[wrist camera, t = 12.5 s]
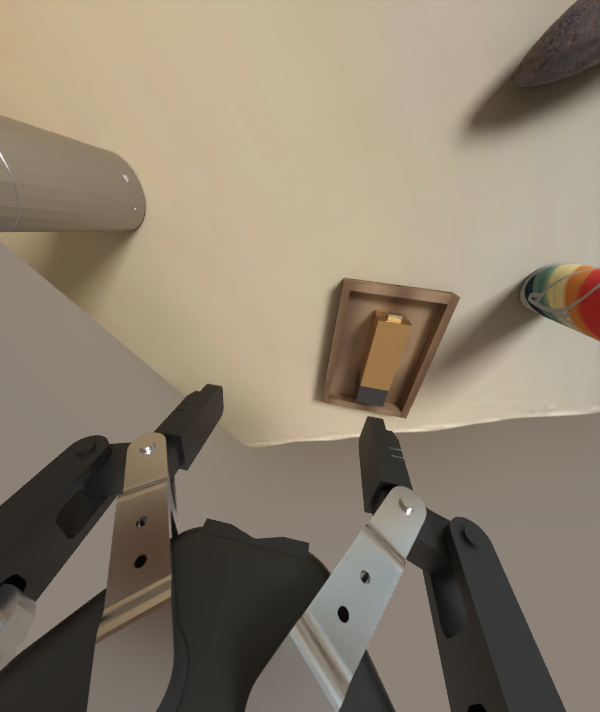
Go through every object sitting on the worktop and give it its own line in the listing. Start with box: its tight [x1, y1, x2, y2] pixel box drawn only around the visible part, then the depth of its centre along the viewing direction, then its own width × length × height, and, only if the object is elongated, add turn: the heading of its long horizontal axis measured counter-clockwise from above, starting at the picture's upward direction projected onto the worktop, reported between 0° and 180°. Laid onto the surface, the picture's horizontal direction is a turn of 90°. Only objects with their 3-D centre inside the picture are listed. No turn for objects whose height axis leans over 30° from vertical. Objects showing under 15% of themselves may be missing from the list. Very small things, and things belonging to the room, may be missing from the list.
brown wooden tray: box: [322, 278, 460, 418], centre depth 34 cm, size 14×20×2 cm
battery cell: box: [355, 310, 412, 407], centre depth 33 cm, size 4×14×4 cm, turn 174°
